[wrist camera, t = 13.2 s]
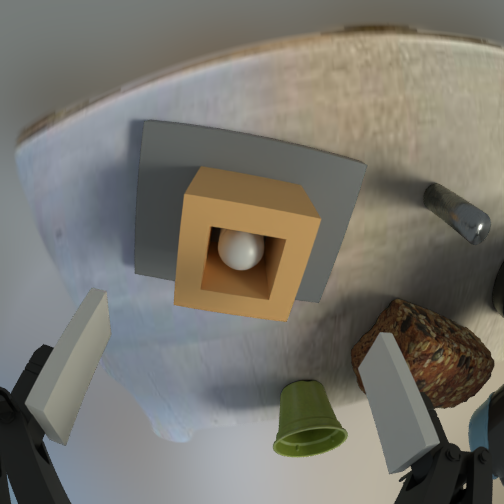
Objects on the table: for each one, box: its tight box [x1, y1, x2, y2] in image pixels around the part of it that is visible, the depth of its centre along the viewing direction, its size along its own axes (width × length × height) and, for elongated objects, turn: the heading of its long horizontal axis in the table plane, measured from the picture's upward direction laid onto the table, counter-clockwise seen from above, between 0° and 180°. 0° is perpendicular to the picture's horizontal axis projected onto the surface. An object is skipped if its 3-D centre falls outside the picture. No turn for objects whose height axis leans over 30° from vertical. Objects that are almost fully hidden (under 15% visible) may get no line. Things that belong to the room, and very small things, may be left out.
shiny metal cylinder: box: [424, 183, 491, 245], centre depth 22 cm, size 3×3×8 cm
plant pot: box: [273, 381, 348, 457], centre depth 35 cm, size 9×9×9 cm
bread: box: [351, 299, 494, 409], centre depth 31 cm, size 19×11×10 cm, turn 65°
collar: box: [174, 166, 321, 322], centre depth 22 cm, size 8×8×7 cm
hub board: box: [135, 120, 367, 303], centre depth 23 cm, size 18×14×8 cm
